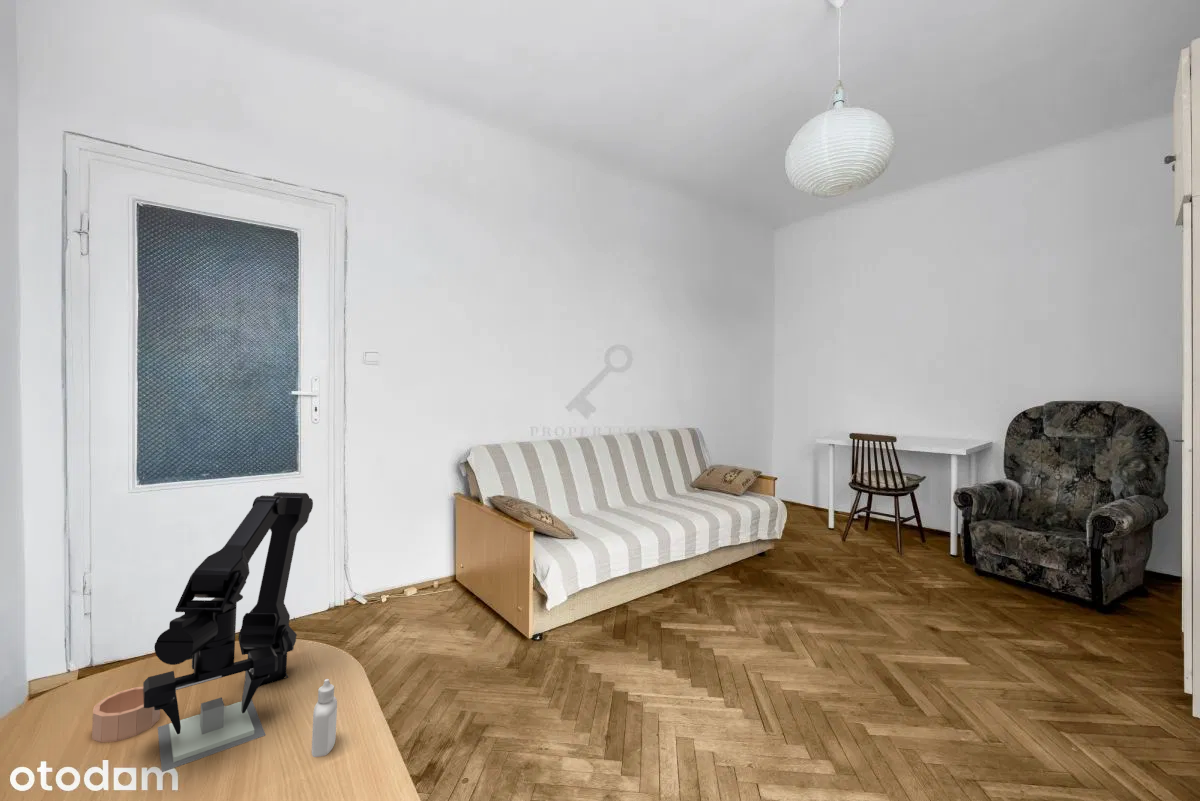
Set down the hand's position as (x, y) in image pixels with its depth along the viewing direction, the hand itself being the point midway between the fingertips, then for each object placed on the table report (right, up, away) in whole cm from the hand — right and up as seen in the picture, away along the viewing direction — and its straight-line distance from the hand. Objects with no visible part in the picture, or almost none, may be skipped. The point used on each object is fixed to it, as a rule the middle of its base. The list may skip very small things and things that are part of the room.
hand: (211, 722), depth 91 cm
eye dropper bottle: (+21, -4, -2) cm, 21 cm away
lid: (0, -2, 0) cm, 2 cm away
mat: (0, -2, 0) cm, 2 cm away
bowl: (-16, -1, 0) cm, 16 cm away
